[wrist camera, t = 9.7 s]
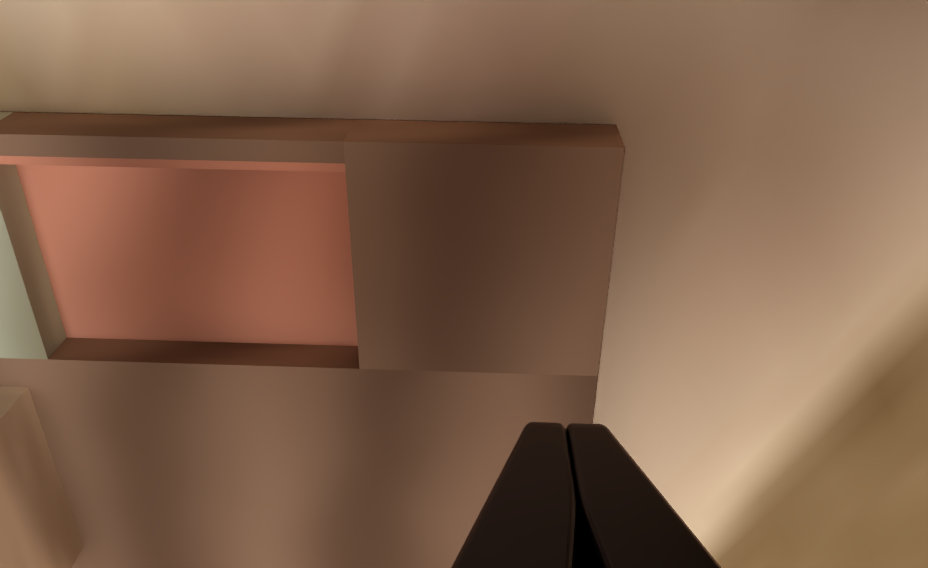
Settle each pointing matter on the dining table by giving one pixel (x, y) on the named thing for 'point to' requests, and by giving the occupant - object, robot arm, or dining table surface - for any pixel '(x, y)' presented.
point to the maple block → (31, 492)
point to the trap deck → (297, 324)
